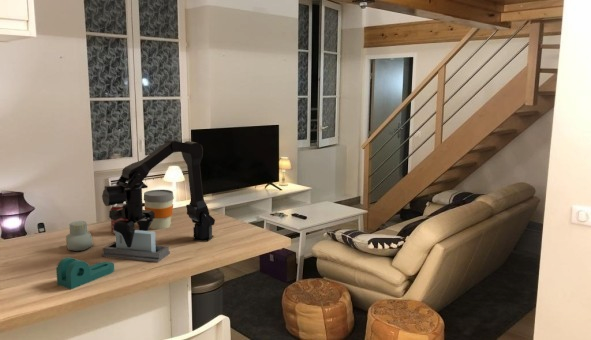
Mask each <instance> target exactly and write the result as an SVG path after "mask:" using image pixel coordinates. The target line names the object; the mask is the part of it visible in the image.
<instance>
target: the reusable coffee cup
mask: <svg viewBox="0 0 591 340" xmlns="http://www.w3.org/2000/svg"><path fill="white" fill-rule="evenodd" d="M174 197H175V196H174V192H173V191H172V190H170V189H151V190H147V191H145V192H143V201H144V203H145V206H143V207H144V210H151V211H153V212H154V213H155V218H154V219H153V221H152V223H151V225H150V227H149V229H152V230H163V229H164V230H165V229H168V228H170V227H171V221H172V216H173V213H174V211H173V210H174Z"/></svg>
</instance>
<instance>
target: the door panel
mask: <svg viewBox="0 0 591 340" xmlns="http://www.w3.org/2000/svg"><path fill="white" fill-rule="evenodd" d="M134 230H135V232H134V236H133V241H132V244H131V247H130V248H129V247H127V245H126V243H125V240H124V238H123V236H122V234H121V233H119V232H116V231H115V233H116V234H115V242H116V248H122V249H133V250H143V251H153V252H156V231H153V230H152V231H151V230H148V231H142V230H139V229H134Z"/></svg>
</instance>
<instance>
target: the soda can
mask: <svg viewBox="0 0 591 340" xmlns="http://www.w3.org/2000/svg"><path fill="white" fill-rule="evenodd" d="M125 204H126V203H125V202H124V203H122V204H116V205H111V208H110V210H113V209H116V210H119V209H122V208H123V205H125ZM110 210H109V211H110ZM120 220H123V219H122V218H120V219H117V220H116V221H113V219H110V225H111V226H110V229H111V233H112V234H113V235H116V233H115V231H114V230H113V225H114V224H115V223H116V222H118V221H120ZM126 220H127V219H126ZM127 221H128V220H127Z"/></svg>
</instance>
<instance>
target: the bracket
mask: <svg viewBox="0 0 591 340" xmlns="http://www.w3.org/2000/svg"><path fill="white" fill-rule="evenodd" d="M55 271H56V273H55V274H56V282H57V284H56V285H57V286H61V287H63V288H66V289H70V290H75V289H76V288H79V287H81V286H84V285H85V284H89V283H91V282H93V281H96V280H98V279H101V278H103V277H106V276H108V275H111V274H112V273H113V274H114V272H115V263H114V262H112V261H111V262H110V261H101V262H97V263H95V264H92V265H89V263H88V262H87V261H83V260H80V259H76V258H73V257H64V258H63V259H61V260H60V261H59V262H58V263H57V266H56V270H55Z"/></svg>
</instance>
